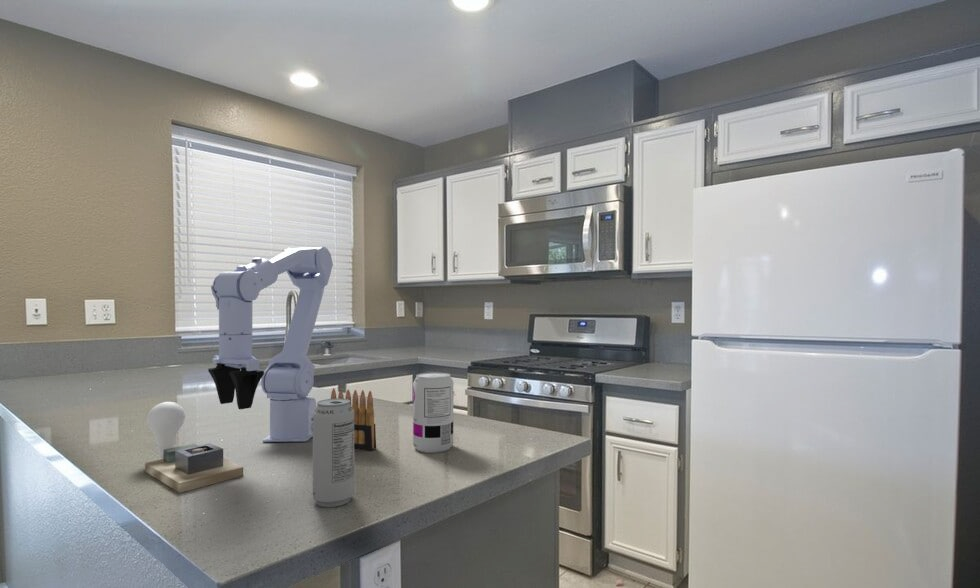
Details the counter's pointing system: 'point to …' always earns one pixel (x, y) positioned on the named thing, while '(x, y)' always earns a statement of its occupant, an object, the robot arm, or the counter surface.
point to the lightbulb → (165, 424)
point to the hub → (198, 459)
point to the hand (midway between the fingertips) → (235, 405)
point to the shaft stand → (185, 482)
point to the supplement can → (433, 412)
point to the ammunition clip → (361, 419)
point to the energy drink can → (333, 452)
